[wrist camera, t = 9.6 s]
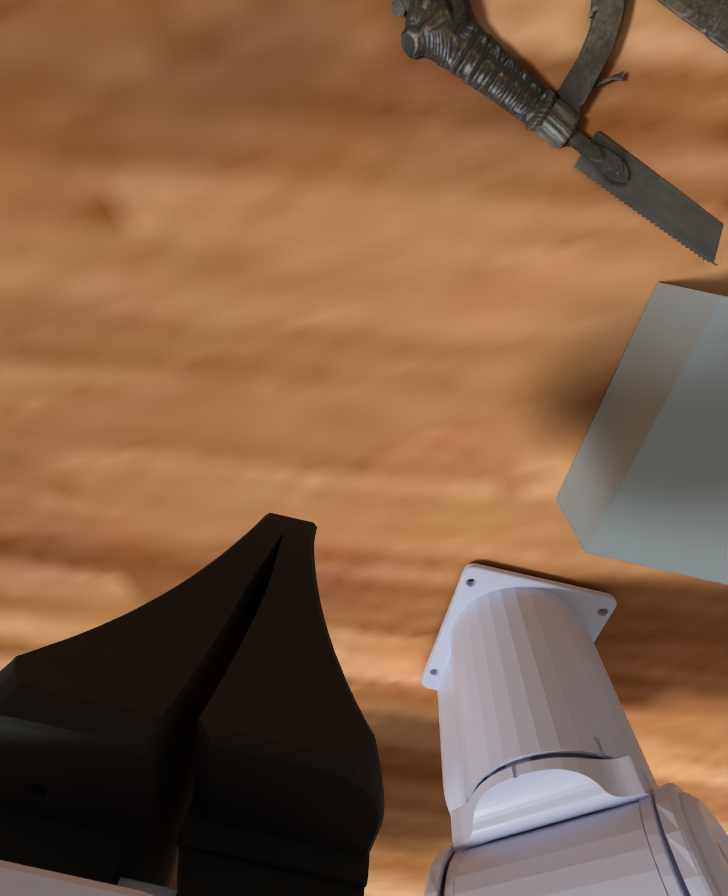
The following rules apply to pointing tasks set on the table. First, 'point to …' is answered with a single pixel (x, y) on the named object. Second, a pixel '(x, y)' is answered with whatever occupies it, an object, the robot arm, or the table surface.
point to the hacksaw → (569, 99)
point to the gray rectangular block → (660, 444)
